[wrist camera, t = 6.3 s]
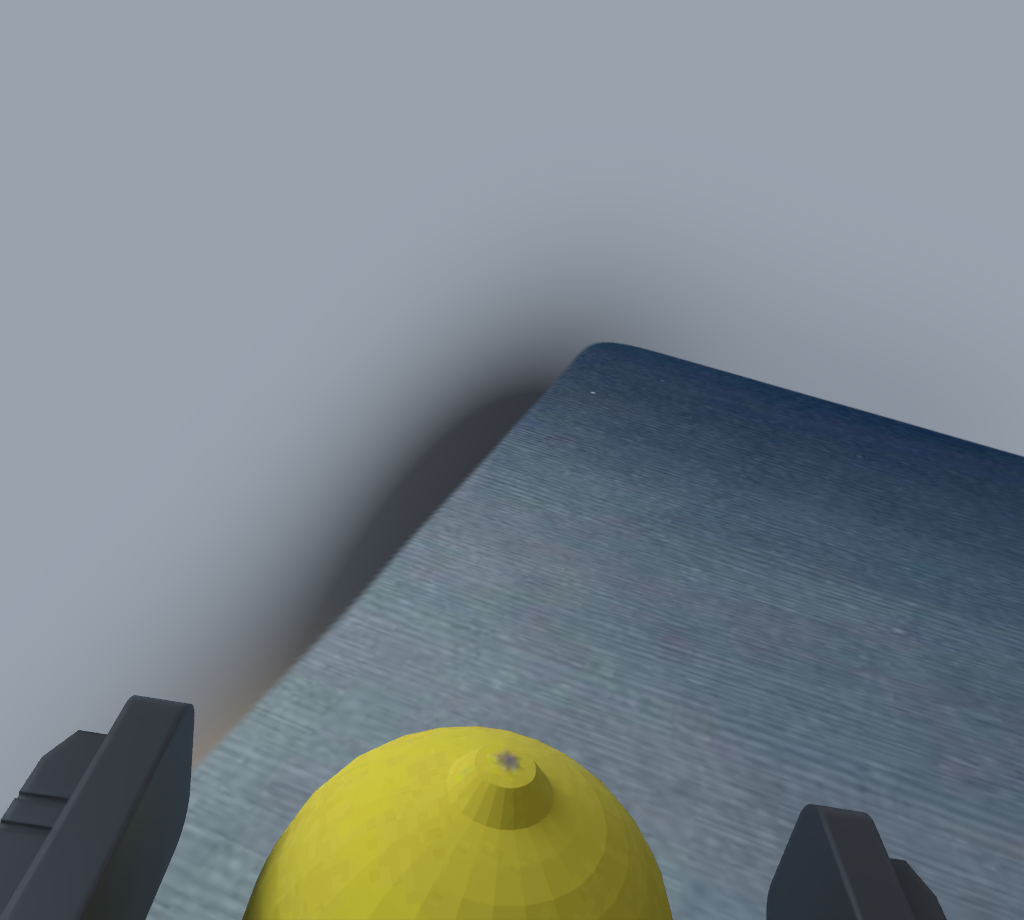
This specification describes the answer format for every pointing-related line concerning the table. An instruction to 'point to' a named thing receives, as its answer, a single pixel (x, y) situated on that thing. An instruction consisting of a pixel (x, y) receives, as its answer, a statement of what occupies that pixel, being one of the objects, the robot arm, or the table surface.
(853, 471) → the table surface
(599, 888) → the lemon
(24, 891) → the robot arm
